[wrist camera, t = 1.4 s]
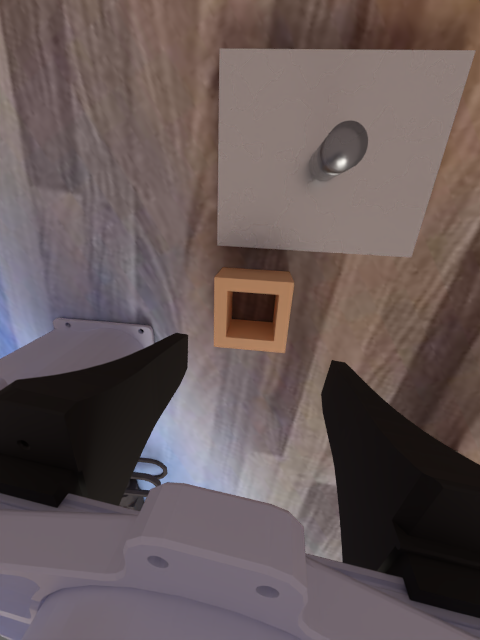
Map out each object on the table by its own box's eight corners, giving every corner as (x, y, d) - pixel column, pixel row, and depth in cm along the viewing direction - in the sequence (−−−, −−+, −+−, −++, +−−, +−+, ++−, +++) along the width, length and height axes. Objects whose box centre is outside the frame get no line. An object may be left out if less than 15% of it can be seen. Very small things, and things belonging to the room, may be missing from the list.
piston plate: (219, 244, 20) (203, 253, 15) (222, 58, 15) (201, -19, 10) (404, 255, 19) (455, 269, 14) (462, 61, 14) (568, -23, 9)
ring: (221, 327, 22) (213, 346, 19) (222, 267, 20) (214, 277, 17) (281, 332, 22) (284, 352, 19) (289, 271, 20) (294, 282, 17)
